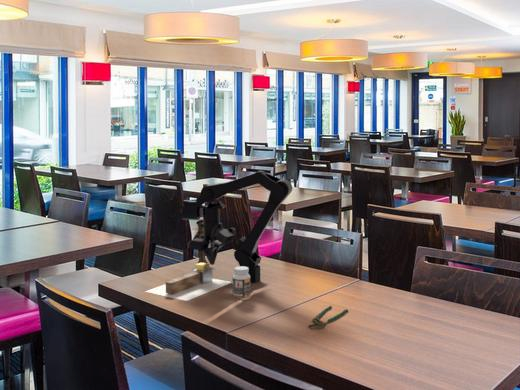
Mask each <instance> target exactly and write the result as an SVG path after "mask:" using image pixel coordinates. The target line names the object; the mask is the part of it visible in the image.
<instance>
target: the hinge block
mask: <svg viewBox="0 0 520 390" xmlns="http://www.w3.org/2000/svg"><path fill="white" fill-rule="evenodd" d="M192 272H195V273H199V277H200V284H206V283H209V282H211V281H212V278H213V268H211V267H209V269H208V270H205V271H201V270H196V268H195V269H193V270H192Z"/></svg>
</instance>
